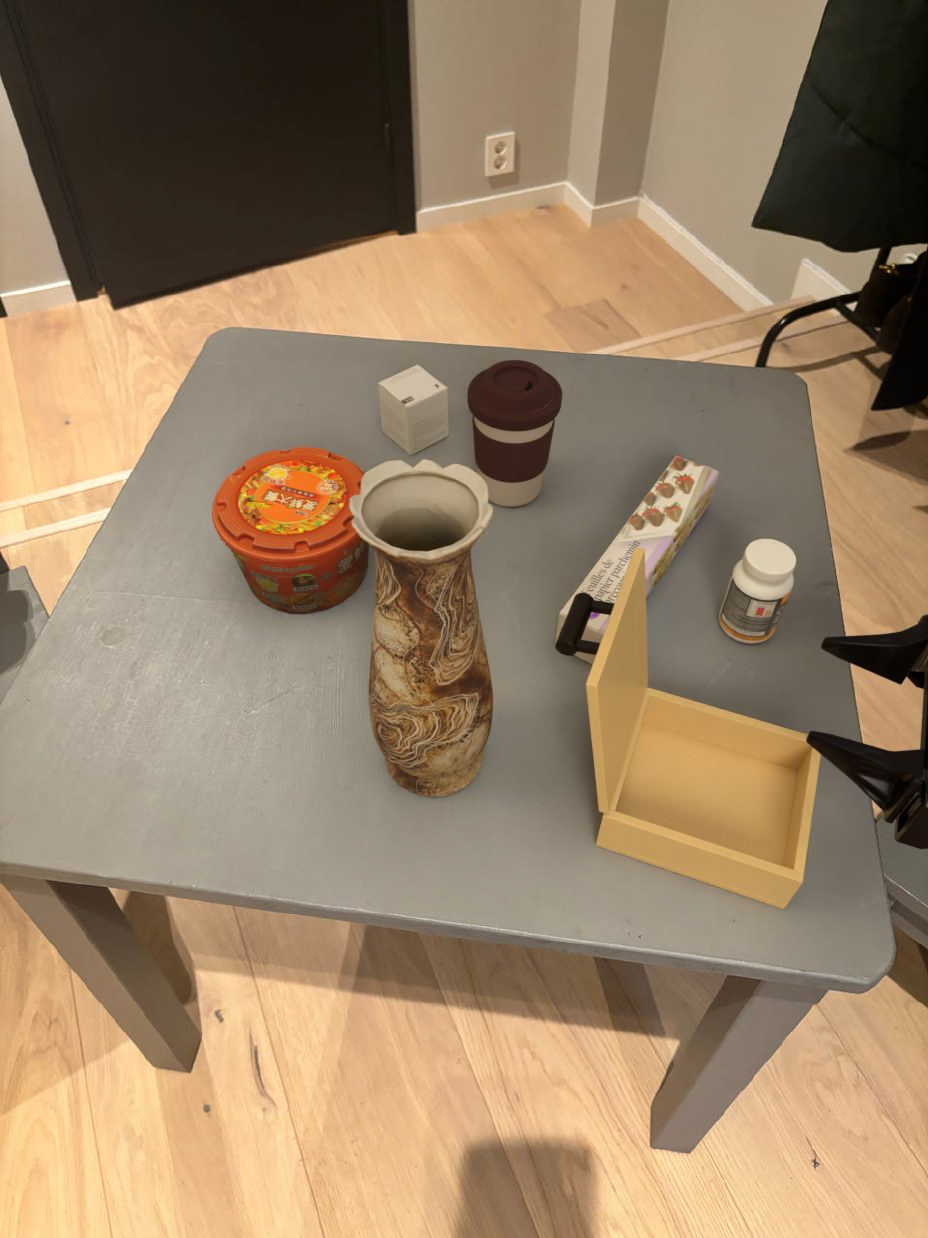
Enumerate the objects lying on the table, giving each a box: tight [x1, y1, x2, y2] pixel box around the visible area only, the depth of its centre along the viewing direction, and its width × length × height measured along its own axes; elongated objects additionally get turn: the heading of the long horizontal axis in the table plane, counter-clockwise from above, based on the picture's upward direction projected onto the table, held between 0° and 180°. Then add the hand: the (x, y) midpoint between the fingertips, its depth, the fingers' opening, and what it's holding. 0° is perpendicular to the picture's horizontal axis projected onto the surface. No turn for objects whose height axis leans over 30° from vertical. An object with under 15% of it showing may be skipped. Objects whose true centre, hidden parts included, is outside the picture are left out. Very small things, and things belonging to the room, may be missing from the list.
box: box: [554, 455, 720, 665], centre depth 93 cm, size 27×5×6 cm, turn 147°
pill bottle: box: [718, 538, 797, 644], centre depth 87 cm, size 6×6×10 cm
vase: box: [349, 458, 494, 798], centre depth 70 cm, size 10×11×30 cm
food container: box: [211, 446, 370, 615], centre depth 92 cm, size 16×16×11 cm
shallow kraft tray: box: [595, 686, 822, 910], centre depth 76 cm, size 16×14×5 cm
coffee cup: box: [467, 359, 563, 508], centre depth 98 cm, size 10×10×15 cm
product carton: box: [377, 364, 450, 456], centre depth 107 cm, size 6×6×7 cm
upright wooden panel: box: [554, 548, 649, 814], centre depth 70 cm, size 16×14×4 cm
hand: (815, 687), depth 68 cm, fingers open, 9 cm apart
